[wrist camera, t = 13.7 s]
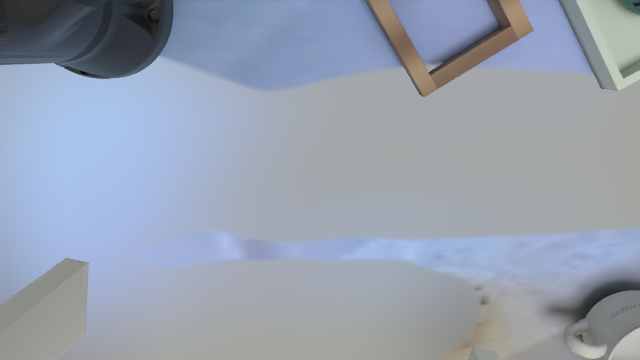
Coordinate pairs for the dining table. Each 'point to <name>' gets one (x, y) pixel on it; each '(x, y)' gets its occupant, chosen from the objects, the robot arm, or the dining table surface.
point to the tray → (607, 39)
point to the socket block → (511, 30)
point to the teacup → (609, 329)
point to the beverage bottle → (633, 5)
